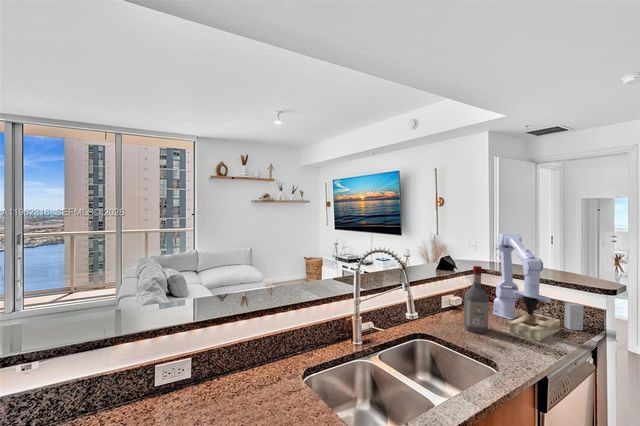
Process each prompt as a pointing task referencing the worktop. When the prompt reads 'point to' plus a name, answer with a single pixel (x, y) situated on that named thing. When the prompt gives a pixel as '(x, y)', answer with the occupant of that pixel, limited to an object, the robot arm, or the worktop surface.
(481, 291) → the liquor
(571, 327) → the skincare box
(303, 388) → the worktop surface
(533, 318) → the walnut peg
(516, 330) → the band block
